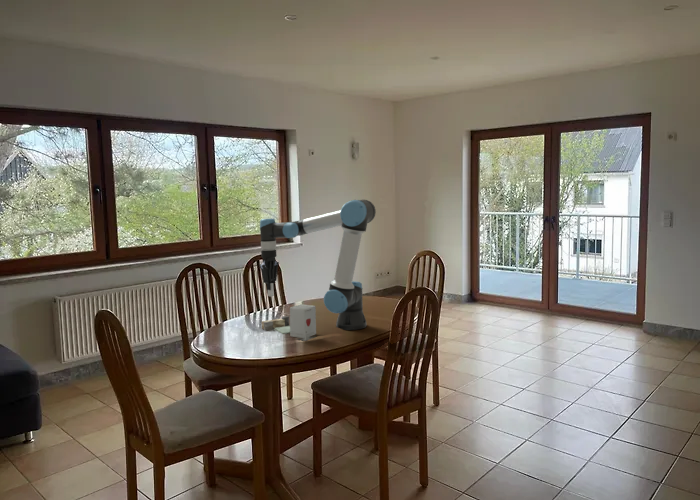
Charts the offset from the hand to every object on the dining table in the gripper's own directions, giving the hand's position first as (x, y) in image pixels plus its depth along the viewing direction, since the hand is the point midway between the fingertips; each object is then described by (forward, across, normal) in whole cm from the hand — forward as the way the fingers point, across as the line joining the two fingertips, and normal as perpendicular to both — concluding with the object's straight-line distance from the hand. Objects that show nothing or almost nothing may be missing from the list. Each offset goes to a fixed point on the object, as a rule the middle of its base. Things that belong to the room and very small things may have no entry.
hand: (270, 295), depth 274 cm
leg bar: (+15, +3, +5) cm, 16 cm away
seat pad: (+15, +5, +14) cm, 21 cm away
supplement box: (+17, +10, +26) cm, 33 cm away
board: (+16, +4, +5) cm, 18 cm away
